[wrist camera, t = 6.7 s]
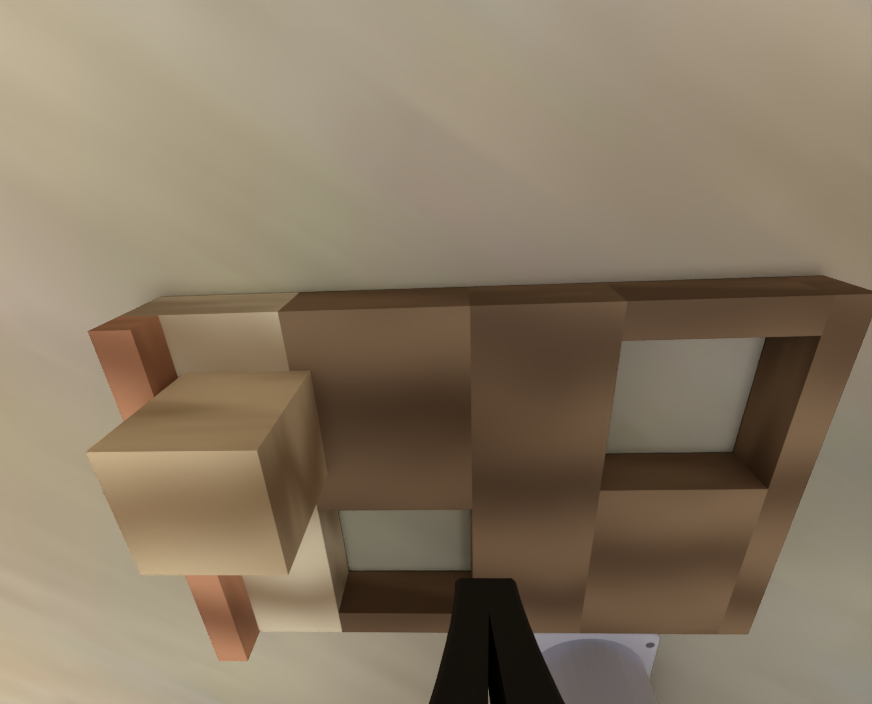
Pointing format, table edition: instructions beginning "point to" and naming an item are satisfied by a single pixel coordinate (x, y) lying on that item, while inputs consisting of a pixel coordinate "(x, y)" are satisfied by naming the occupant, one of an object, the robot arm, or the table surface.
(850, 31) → the table surface
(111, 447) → the beech block
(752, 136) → the table surface
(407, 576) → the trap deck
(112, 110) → the table surface
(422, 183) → the table surface
